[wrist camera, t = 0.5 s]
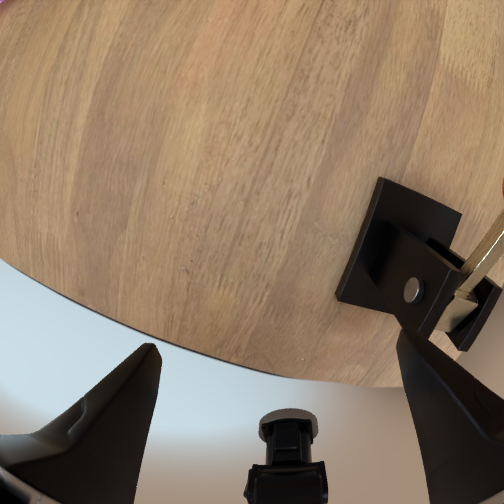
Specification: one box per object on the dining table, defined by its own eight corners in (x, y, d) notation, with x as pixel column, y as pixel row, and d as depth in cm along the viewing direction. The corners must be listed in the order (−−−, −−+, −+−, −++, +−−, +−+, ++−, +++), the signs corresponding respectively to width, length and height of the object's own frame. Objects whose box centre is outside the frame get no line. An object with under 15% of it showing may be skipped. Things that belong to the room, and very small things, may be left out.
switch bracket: (378, 176, 19) (451, 202, 10) (454, 210, 19) (532, 251, 10) (334, 293, 23) (363, 379, 13) (410, 312, 23) (457, 385, 14)
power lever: (509, 135, 8) (547, 167, 6) (539, 164, 8) (572, 197, 6) (410, 289, 16) (420, 332, 13) (444, 299, 16) (455, 339, 13)
